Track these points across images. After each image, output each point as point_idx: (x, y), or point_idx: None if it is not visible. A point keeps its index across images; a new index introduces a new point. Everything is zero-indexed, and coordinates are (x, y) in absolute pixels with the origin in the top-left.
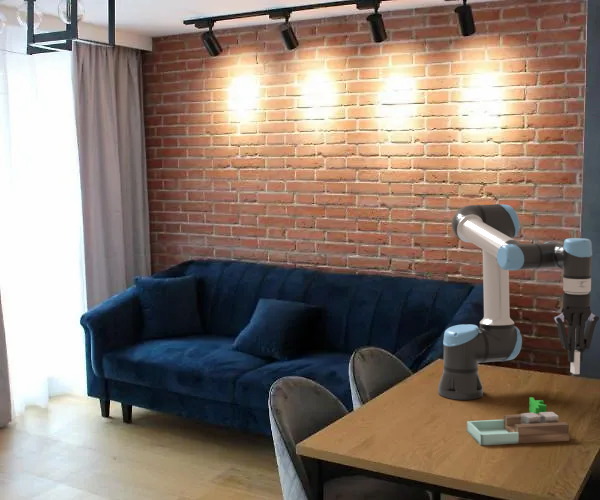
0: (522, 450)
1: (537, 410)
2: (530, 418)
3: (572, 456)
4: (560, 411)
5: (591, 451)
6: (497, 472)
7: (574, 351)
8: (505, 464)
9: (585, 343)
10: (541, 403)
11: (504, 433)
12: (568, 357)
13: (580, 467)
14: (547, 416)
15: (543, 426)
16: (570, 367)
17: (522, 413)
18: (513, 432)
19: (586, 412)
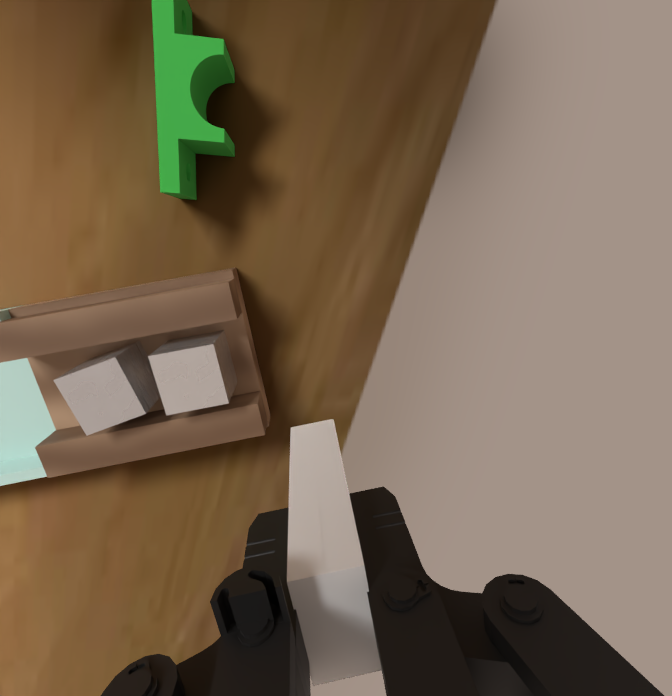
0: (93, 510)
1: (173, 193)
2: (98, 430)
3: None
4: (327, 31)
5: None
6: (7, 666)
7: (314, 656)
8: (32, 616)
9: (560, 653)
10: (213, 60)
11: (4, 481)
12: (249, 558)
13: None
14: (177, 412)
15: (159, 454)
16: (290, 446)
17: (61, 376)
18: (42, 469)
19: (443, 51)
